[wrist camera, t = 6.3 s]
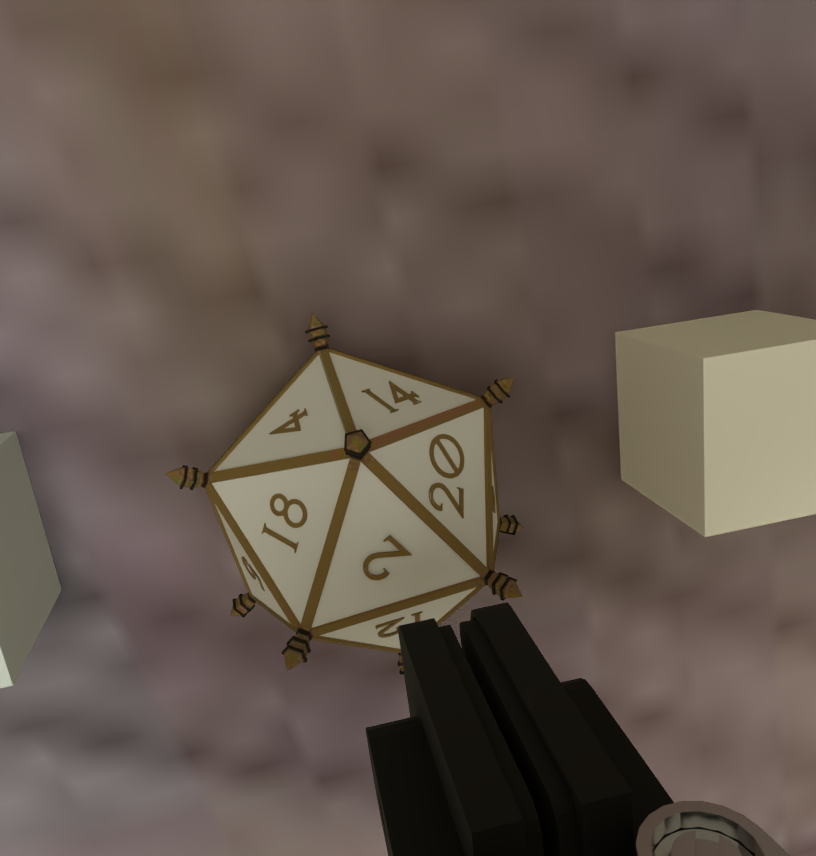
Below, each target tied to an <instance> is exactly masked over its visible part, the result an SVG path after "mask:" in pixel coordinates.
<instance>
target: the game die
mask: <svg viewBox="0 0 816 856" xmlns="http://www.w3.org/2000/svg"><path fill="white" fill-rule="evenodd" d="M326 328H328V327H327V326H325V325H324V324H323V323H322V322H321V321H320V320H319V319H318V318H317V317H316V316H315V315H314V314H313V313H312V316H311V319H310V323H309V326H308V330H307V331H305V332H306V333H308V335H309V338H310V340H308V341H309V342H311V343H312V344H313V346H314V348H315V352H314V353H313V354H312V356H311V357H310V358H309V359H308V360H307V361H306V362H305V363H304V365H303V366H302V367H301V368H300V369H299V370H298V371H297V372H296V374H295V375H294V376H293V377H292V378H291V379H290V380H289V381H288V382H287V384H286V385H285V386H284V387H283V388H282V389H281V390H280V391H279V393H278V394H277V395H276V396H275V397H274V398H273V399H272V400H271V401H270V403H269V404H268V405H267V406H266V407H265V408H264V409H263V410H262V412H261V413H260V414H259V415H258V416H257V417H256V418H255V419H254V421H253V422H252V423H251V424H250V425H249V426H248V427H247V428H246V429H245V431H244V432H243V433H242V434H241V435H240V436H239V437H238V438H237V440H236V441H235V442H234V443H233V444H232V445H231V446H230V447H229V448H228V450H227V451H226V452H225V453H224V454H223V455H222V456H221V457H220V459H219V460H218V461H217V462H216V463H215V464H214V465H213V466H212V468H211V469H210V470H209V471H208V472H207V473H203V472H201V471H198V468H194V467H193V469H190V468H188V466H184V465H183V467H182V468H179V469H176V470H173V471H171V472H168V473H166V474H167V475H168V476H169V477H170V478H171V479H172V480H174V481H175V482H176V483H177V484H178V485H179V486H180V489H182V488H183V487H190V490H193V488H194V487H200V486H202V487H204V488H205V489H206V491H207V494H208V496H209V498H210V501H211V503H212V506H213V508H214V511H215V513H216V515H217V518H218V520H219V523H220V525H221V527H222V530H223V532H224V535H225V537H226V540H227V542H228V544H229V547H230V549H231V552H232V554H233V556H234V559H235V561H236V564H237V566H238V568H239V571H240V573H241V576H242V578H243V581H244V583H245V585H246V588H247V590H248V593H247V594H244V595H243V594H240V595H239V598H237V599H233V607H232V611H231V615H230V616H242V617H245V615H246V614H247V613H248V612H250V611H251V610H252V609H253V608H254V606H255V605H254V604H255V602H257V603H258V604H260V605H261V606H262V607H264V608H265V609H266V610H267V611H269V612H270V613H271V614H273V615H274V616H275V617H276V618H278V619H279V620H280V621H282V622H283V623H284V624H286V625H287V626H288V627H289V628H291V629H292V630H293V631H295V632H296V636H292V638H291V639H290V640H289V641H288V642H287V647H286V648H285V649H284V650H283V651H282V654H283V655H284V657H285V662H286V668H287V671H288V670H289V669H291V668H293V667H295V666H296V665H298V664H300V663H302V662H307V658H306V655H307V653H310V651H311V650H310V647H309V642H310V640H316V641H323V642H330V643H336V644H343V645H350V646H357V647H363V648H370V649H377V650H383V651H390V652H397V653H398V654H399V656H400V657H399V661H398V666H400V668H401V669H400V674H403V675H404V669H403V662H402V655H401V648H400V641H399V634H398V626H399V625H404V624H409V623H413V622H418V621H423V620H427V619H432V618H434V619H435V620H436V622H437V625H440V624H441V623H442V622H443V621H444V620H445V619H447V618H448V617H449V616H450V615H451V614H452V613H453V612H455V611H456V610H457V609H458V608H459V607H460V606H462V605H463V604H464V603H465V602H466V601H467V600H469V599H470V598H471V597H472V596H473V595H474V594H476V593H477V592H478V591H479V590H480V589H481V588H483V587H484V586H485V585H488V586H489V587H490V588H491V589H492V594H494V595H495V594H498V595H499V596H500V599H501V600H502V601H503V600H504V599H506V598H515V597H523V596H522V594H521V592H520V590H519V588H518V586H517V584H516V581H517V580H516V579H514V578H511V577H508V575H506V574H504V573H501V572H500V573H499V574H498V573H496V572H495V571H494V568H495V560H496V552H497V543H498V535H499V530H500V532H502V533H507V534H511V535H515V533H516V532H518V531H519V530H521V529H522V528H524V527H523V526H522V525H521V524H520V523H519V522H518V521H517V520H516V518H515V516H514V515H512V516H511V517H508V515H505V516H504V517H500V515H499V504H498V492H497V481H496V469H495V458H494V447H493V435H492V424H491V412H490V408H491V406H492V405H494V404H496V403H503V402H502V400H503V399H505V398H506V397H508V398H509V397H510V395H509V393H510V390H511V387H512V384H513V380H514V377H513V378H508V379H503V380H497V379H496V380H495V381H494V384H493V385H492V386H491V387H490V386H488V387H487V389H488V390H487V392H486V393H485V394H484V395H483V396H478V395H475V394H472V393H468V392H465V391H462V390H459V389H456V388H453V387H450V386H446V385H443V384H440V383H437V382H434V381H431V380H428V379H425V378H421V377H418V376H415V375H412V374H409V373H406V372H403V371H399V370H396V369H393V368H390V367H387V366H384V365H381V364H377V363H374V362H371V361H368V360H365V359H362V358H359V357H355V356H352V355H349V354H346V353H343V352H340V351H337V350H333V349H330V348H329V347H328V337H330V336H329V335H327V331H326Z"/></svg>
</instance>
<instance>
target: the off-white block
mask: <svg viewBox="0 0 816 856" xmlns="http://www.w3.org/2000/svg"><path fill="white" fill-rule="evenodd" d="M615 347H616V370H617V394H618V417H619V441H620V465H621V480H622V481H624V482H625V483H627V484H628V485H630V486H631V487H633V488H634V489H636V490H637V491H638V492H640V493H641V494H643V495H644V496H646V497H647V498H649V499H650V500H651V501H653V502H654V503H656V504H657V505H659V506H660V507H662V508H663V509H665V510H666V511H667V512H669V513H670V514H672V515H673V516H675V517H676V518H678V519H679V520H681V521H682V522H683V523H685V524H686V525H688V526H689V527H691V528H692V529H694V530H695V531H697V532H698V533H699V534H701V535H702V536H704V537H708V536H713V535H718V534H723V533H727V532H732V531H737V530H742V529H746V528H751V527H756V526H761V525H766V524H770V523H775V522H780V521H785V520H789V519H794V518H799V517H804V516H808V515H813V514H816V320H815V319H809V318H803V317H797V316H791V315H785V314H780V313H774V312H768V311H762V310H752V311H746V312H740V313H733V314H727V315H721V316H714V317H708V318H702V319H696V320H689V321H683V322H677V323H670V324H664V325H658V326H652V327H645V328H639V329H633V330H626V331H620V332H615Z"/></svg>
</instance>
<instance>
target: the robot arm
mask: <svg viewBox="0 0 816 856" xmlns="http://www.w3.org/2000/svg"><path fill="white" fill-rule="evenodd" d="M398 634H399V641H400V648H401V655H402V662H403V669H404V676H405V683H406V690H407V696H408V703H409V710H410V717H411V718H406V719H402V720H398V721H393V722H389V723H385V724H380V725H376V726H372V727H368V728H366V734H367V741H368V747H369V753H370V759H371V765H372V771H373V777H374V783H375V788H376V794H377V799H378V805H379V810H380V815H381V821H382V826H383V831H384V836H385V841H386V846H387V851H388V856H790V855H789V854H788V853H787V852H786V851H785V850H784V849H783V848H782V847H781V846H780V845H779V844H777V843H776V842H775V841H774V840H773V839H772V838H771V837H770V836H769V835H768V834H767V833H766V832H765V831H764V830H763V829H762V828H760V827H759V826H758V825H756V824H755V823H754V822H752V821H751V820H750V819H748V818H747V817H746V816H744V815H742V814H740V813H738V812H736V811H734V810H731V809H729V808H727V807H725V806H722V805H717V804H713V803H708V802H704V801H680V802H676V803H674V802H673V801H672V799H671V798H670V797H669V795H668V794H667V792H666V791H665V789H664V788H663V787H662V785H661V784H660V782H659V781H658V780H657V778H656V777H655V775H654V774H653V773H652V771H651V770H650V768H649V767H648V766H647V764H646V763H645V761H644V760H643V759H642V757H641V756H640V754H639V753H638V752H637V750H636V749H635V747H634V746H633V745H632V743H631V742H630V740H629V739H628V738H627V736H626V735H625V733H624V732H623V730H622V729H621V728H620V726H619V725H618V723H617V722H616V721H615V719H614V718H613V716H612V715H611V714H610V712H609V711H608V709H607V708H606V707H605V705H604V704H603V702H602V701H601V700H600V698H599V697H598V695H597V694H596V693H595V691H594V690H593V688H592V687H591V686H590V685H589V683H588V682H587V681H586V680H584V679H582V678H579V679H574V680H570V681H566V682H561V683H560V681H559V680H558V678H557V677H556V675H555V674H554V672H553V670H552V669H551V667H550V666H549V664H548V663H547V661H546V660H545V658H544V657H543V655H542V654H541V652H540V651H539V649H538V647H537V646H536V644H535V643H534V641H533V640H532V638H531V637H530V635H529V634H528V632H527V631H526V629H525V627H524V626H523V624H522V623H521V621H520V620H519V618H518V617H517V615H516V614H515V612H514V611H513V609H512V608H511V606H510V605H509V604H508V603H502V604H498V605H493V606H488V607H484V608H479V609H474V610H472V611H471V620H470V621H465V622H461V623H460V636H461V645H462V648H461V646H460V644H459V642H458V640H457V638H456V636H455V633H454V631H453V629H452V627H451V626H450V625H447V626H442V627H438V625H437V622H436V620H435V619H434V618H432V619H427V620H423V621H418V622H413V623H409V624H404V625H399V626H398Z"/></svg>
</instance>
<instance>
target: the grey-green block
mask: <svg viewBox="0 0 816 856" xmlns="http://www.w3.org/2000/svg"><path fill="white" fill-rule="evenodd" d="M60 592H61V586H60V583H59V579H58V576H57V573H56V569H55V566H54V562H53V559H52V555H51V552H50V548H49V545H48V541H47V538H46V534H45V531H44V528H43V524H42V521H41V517H40V514H39V510H38V507H37V503H36V500H35V496H34V493H33V490H32V486H31V483H30V479H29V476H28V472H27V469H26V465H25V462H24V458H23V455H22V452H21V448H20V445H19V441H18V438H17V434H16V431H13V432H7V433H1V434H0V688H3V687H7V686H12V685H13V684H14V682H15V680H16V678H17V676H18V674H19V672H20V670H21V668H22V666H23V664H24V663H25V661H26V659H27V657H28V655H29V653H30V651H31V649H32V647H33V645H34V643H35V641H36V639H37V637H38V635H39V633H40V631H41V629H42V627H43V626H44V624H45V622H46V620H47V618H48V616H49V614H50V612H51V610H52V608H53V606H54V604H55V602H56V600H57V598H58V596H59V594H60Z"/></svg>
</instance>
